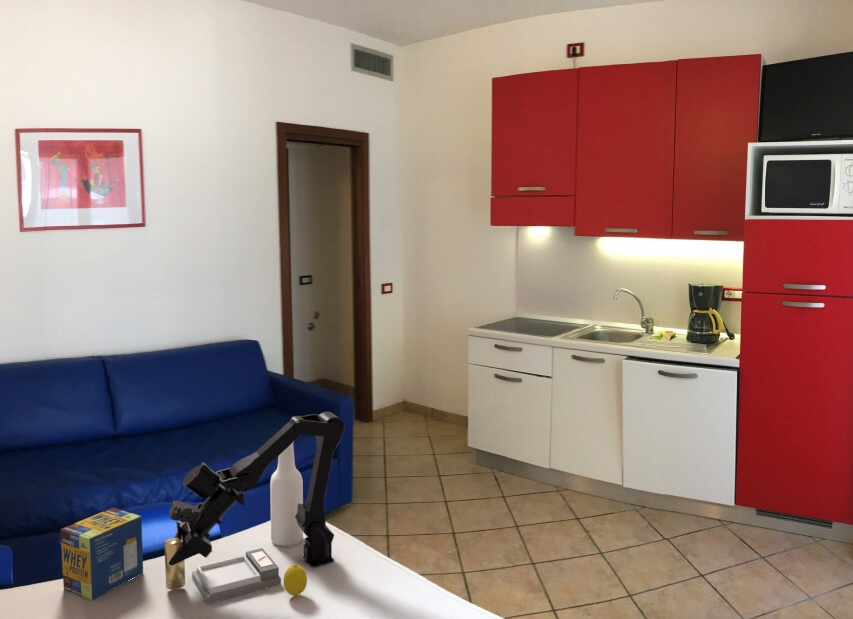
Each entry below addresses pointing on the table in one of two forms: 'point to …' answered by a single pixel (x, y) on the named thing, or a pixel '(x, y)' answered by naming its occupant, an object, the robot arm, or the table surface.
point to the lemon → (295, 580)
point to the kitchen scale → (236, 576)
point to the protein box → (101, 552)
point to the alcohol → (286, 500)
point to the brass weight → (177, 571)
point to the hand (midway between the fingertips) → (168, 560)
